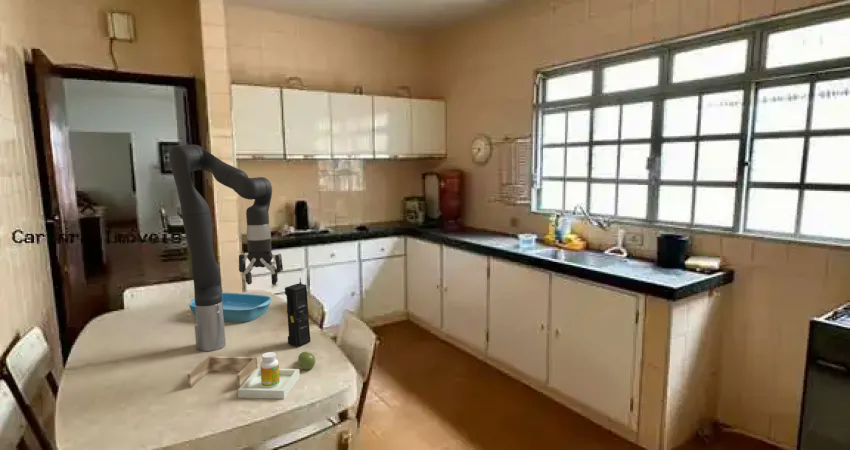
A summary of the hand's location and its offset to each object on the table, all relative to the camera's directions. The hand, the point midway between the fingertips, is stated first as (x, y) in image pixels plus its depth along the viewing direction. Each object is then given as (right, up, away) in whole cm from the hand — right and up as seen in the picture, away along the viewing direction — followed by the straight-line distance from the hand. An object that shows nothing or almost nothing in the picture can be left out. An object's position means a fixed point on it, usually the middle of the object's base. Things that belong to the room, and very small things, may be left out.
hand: (261, 284), depth 159 cm
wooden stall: (-10, -30, -8) cm, 32 cm away
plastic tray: (+7, -30, -13) cm, 34 cm away
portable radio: (+7, -26, +20) cm, 33 cm away
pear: (+15, -29, +1) cm, 32 cm away
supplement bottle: (+7, -30, -13) cm, 33 cm away
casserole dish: (-32, -21, +53) cm, 65 cm away
